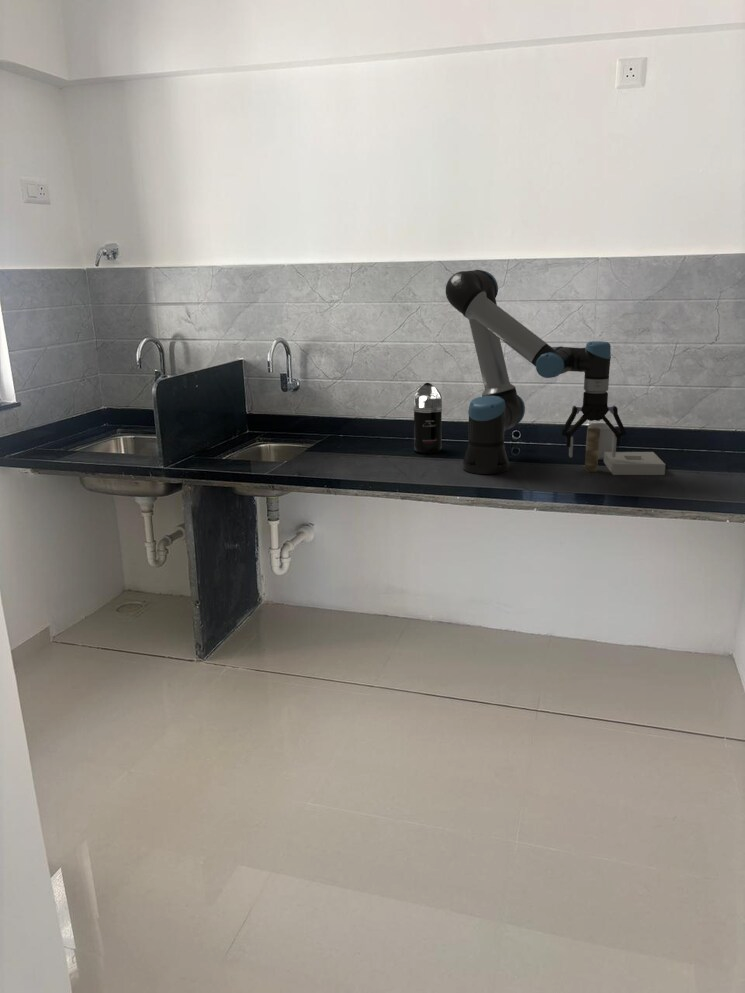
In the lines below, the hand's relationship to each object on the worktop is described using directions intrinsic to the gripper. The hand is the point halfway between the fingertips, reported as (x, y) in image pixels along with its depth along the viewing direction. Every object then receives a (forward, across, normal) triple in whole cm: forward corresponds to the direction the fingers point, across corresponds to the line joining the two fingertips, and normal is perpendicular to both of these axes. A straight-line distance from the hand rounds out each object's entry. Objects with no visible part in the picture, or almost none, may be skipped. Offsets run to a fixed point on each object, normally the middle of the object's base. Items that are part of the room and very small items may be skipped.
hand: (591, 456), depth 253 cm
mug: (+5, +6, +19) cm, 21 cm away
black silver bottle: (+5, -54, +26) cm, 60 cm away
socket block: (+5, +14, +3) cm, 15 cm away
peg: (+5, 0, 0) cm, 5 cm away
